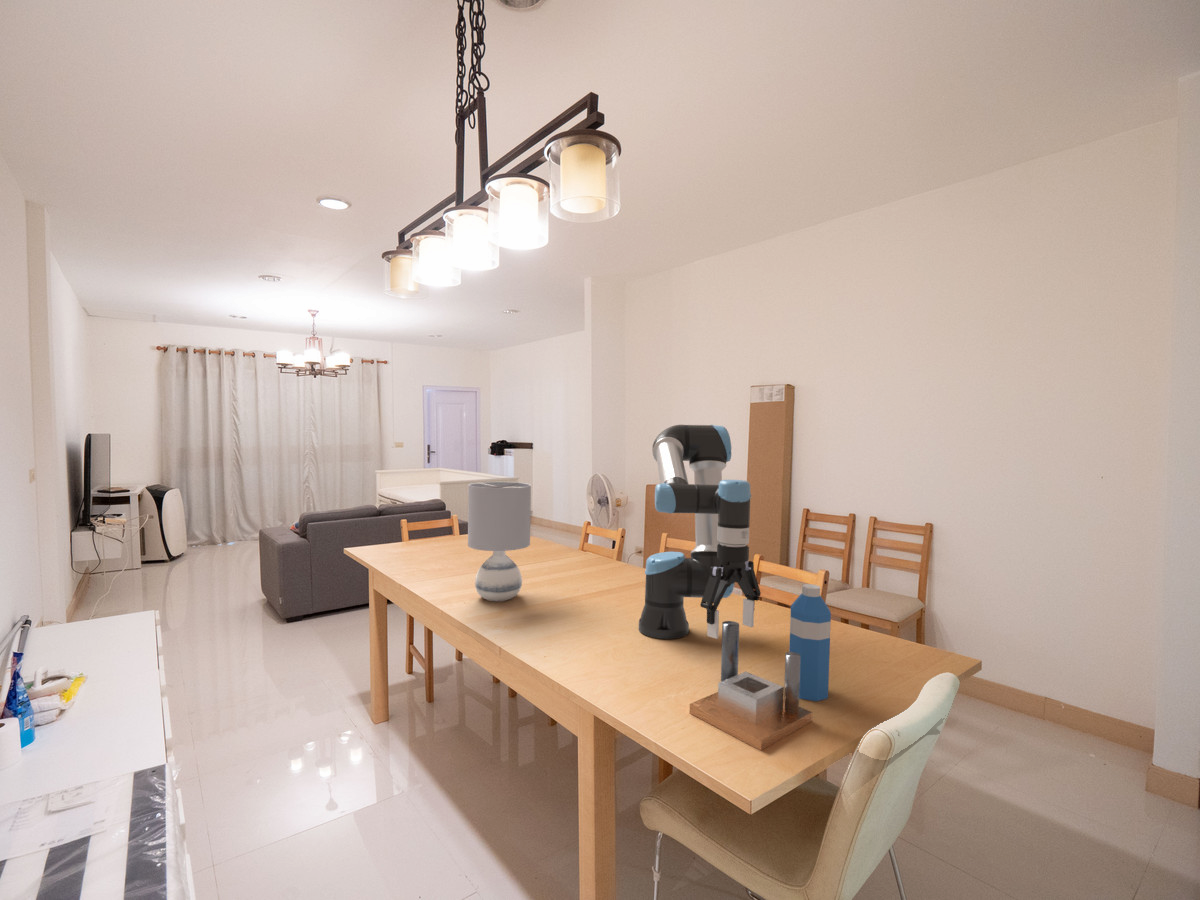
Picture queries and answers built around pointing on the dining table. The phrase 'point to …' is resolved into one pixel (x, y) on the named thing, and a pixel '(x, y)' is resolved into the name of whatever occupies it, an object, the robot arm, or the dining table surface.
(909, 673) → the dining table surface
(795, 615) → the water bottle
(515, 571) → the lamp
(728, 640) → the square metal peg
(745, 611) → the robot arm
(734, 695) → the peg insertion fixture
